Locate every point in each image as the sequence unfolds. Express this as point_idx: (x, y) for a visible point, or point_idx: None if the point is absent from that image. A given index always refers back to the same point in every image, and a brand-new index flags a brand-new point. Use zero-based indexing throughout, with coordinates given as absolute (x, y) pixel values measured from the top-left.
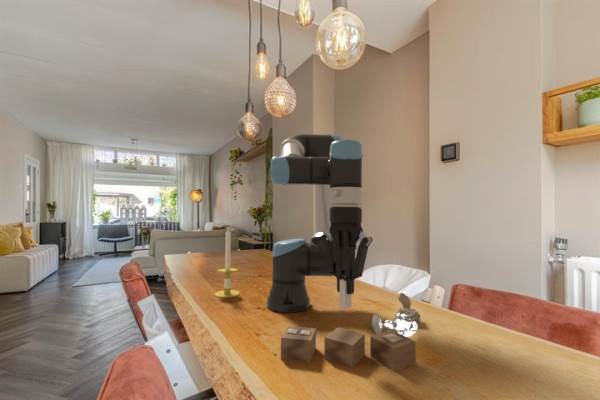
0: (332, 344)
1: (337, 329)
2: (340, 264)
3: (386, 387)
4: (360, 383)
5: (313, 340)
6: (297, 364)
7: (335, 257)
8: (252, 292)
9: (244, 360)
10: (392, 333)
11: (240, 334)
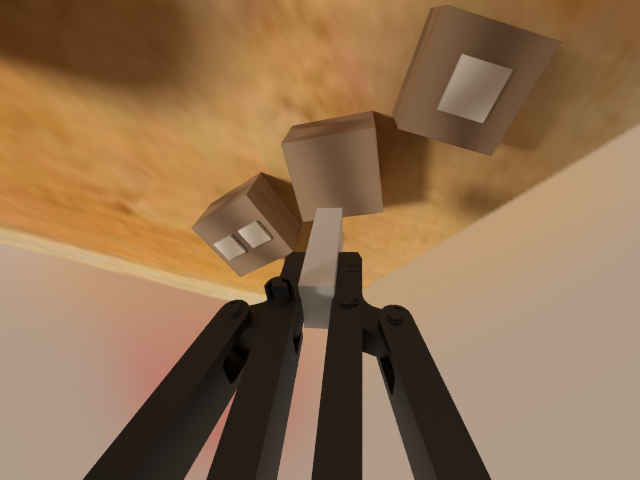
0: None
1: (290, 157)
2: (290, 399)
3: (470, 203)
4: (420, 222)
5: (275, 217)
6: None
7: (196, 403)
8: None
9: (221, 284)
10: (460, 40)
11: (110, 232)
